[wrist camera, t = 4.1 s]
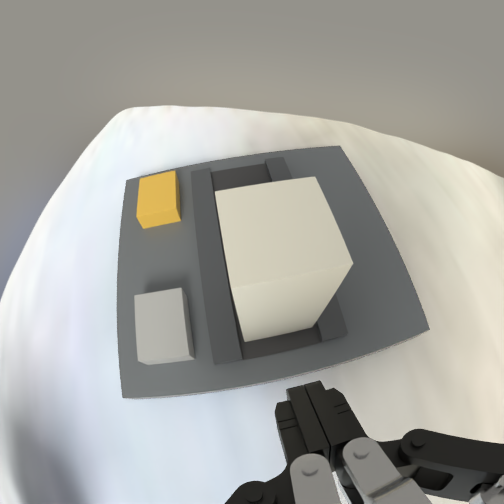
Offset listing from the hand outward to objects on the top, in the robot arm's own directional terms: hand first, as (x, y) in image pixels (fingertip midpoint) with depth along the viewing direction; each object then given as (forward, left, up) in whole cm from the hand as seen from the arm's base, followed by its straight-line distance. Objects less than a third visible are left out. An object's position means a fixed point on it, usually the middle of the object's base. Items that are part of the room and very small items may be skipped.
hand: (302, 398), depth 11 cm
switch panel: (0, -10, -5) cm, 12 cm away
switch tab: (0, -6, -3) cm, 7 cm away
